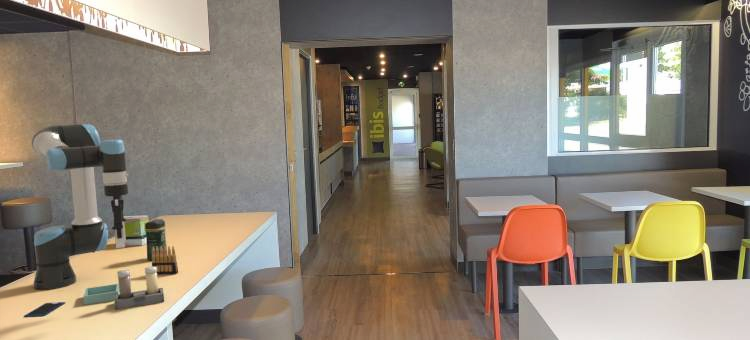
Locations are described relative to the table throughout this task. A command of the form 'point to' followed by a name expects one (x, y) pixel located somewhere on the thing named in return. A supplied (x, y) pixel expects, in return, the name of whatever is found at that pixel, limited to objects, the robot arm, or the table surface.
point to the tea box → (135, 230)
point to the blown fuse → (124, 284)
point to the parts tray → (100, 294)
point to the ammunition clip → (164, 261)
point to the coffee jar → (155, 236)
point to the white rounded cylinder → (151, 280)
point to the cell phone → (44, 309)
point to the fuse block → (139, 299)
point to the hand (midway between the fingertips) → (121, 243)
